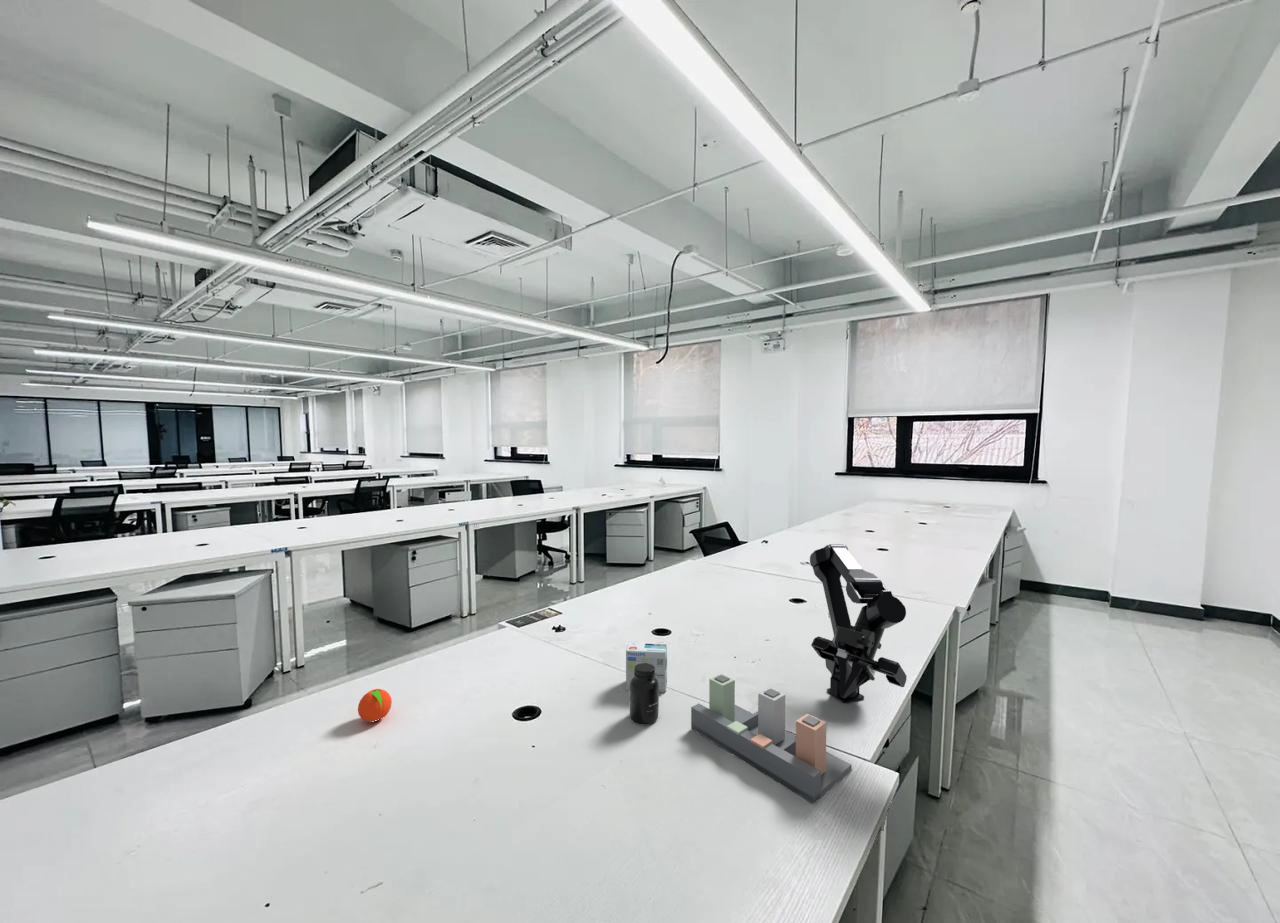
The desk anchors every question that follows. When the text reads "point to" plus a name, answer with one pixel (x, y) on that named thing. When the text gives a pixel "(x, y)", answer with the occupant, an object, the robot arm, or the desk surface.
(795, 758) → the block sorting stand
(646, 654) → the light bulb box
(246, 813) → the desk surface
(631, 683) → the supplement bottle
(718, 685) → the pale green tall block
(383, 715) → the clementine
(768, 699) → the grey block
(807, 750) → the peach tall block
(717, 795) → the desk surface
